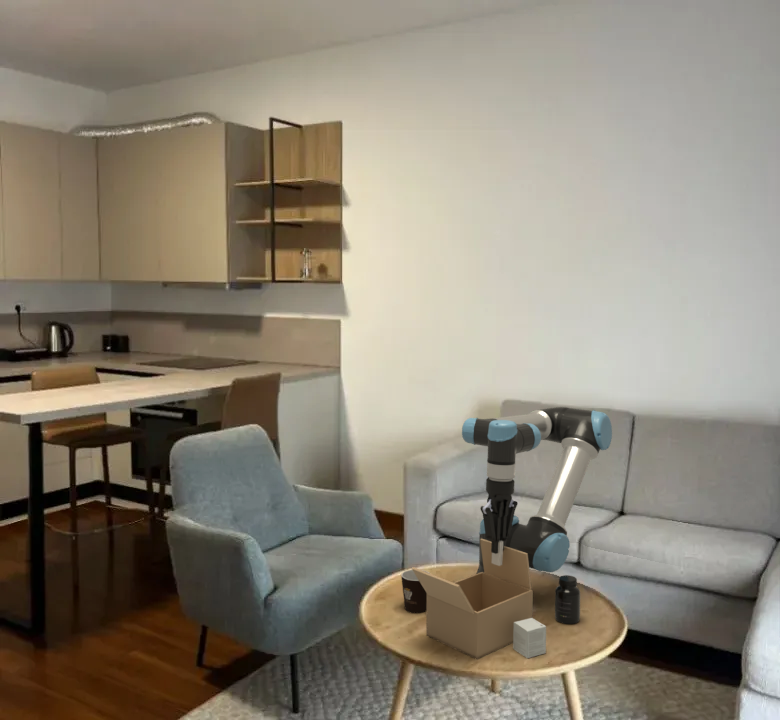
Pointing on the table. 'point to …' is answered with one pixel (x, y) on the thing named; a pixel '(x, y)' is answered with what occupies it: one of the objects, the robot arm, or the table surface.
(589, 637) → the table surface
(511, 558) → the flap
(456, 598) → the flap
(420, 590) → the coffee mug
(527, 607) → the carton
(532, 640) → the product box
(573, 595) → the supplement bottle
